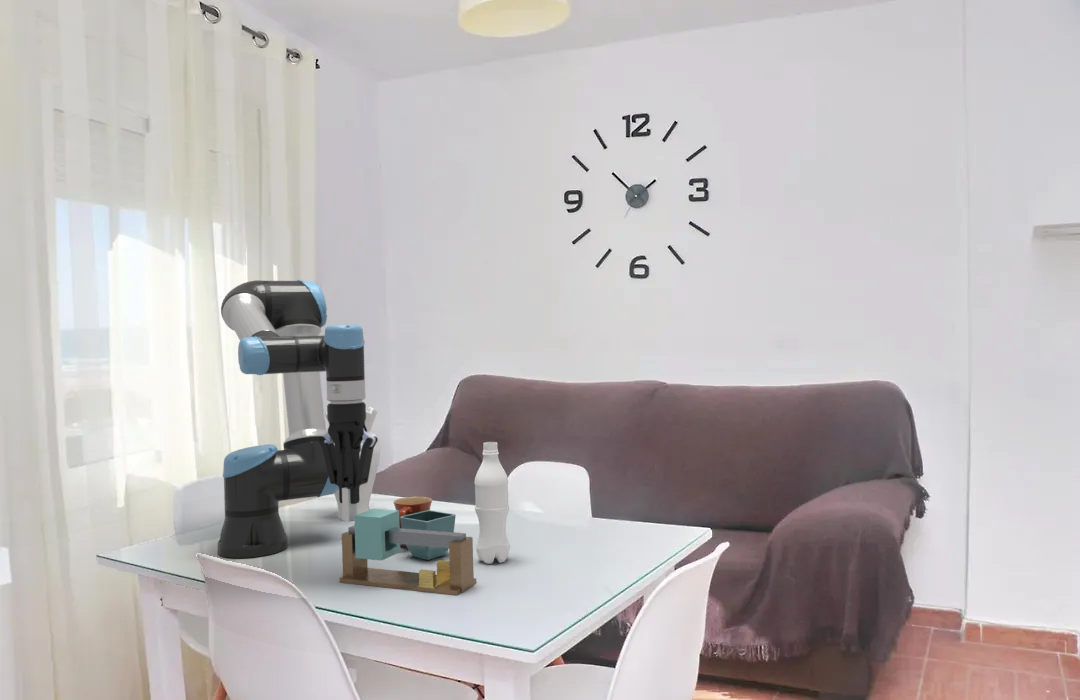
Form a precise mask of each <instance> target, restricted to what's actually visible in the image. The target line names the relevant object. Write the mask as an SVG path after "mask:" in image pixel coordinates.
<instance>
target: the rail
mask: <svg viewBox="0 0 1080 700" xmlns="http://www.w3.org/2000/svg"><path fill="white" fill-rule="evenodd" d="M473 538H474V537H472V536H467V533H466V532H455V531H454V532H442V531H429V530H416V529H403V528H392V529H390V530H387V531H385V543H395V544H406V545H418V546H430V547H442V548H449V549H448V557H449V560H445V559H438V560H437V561H436V570H432V569H422V568H421V569H420V570H418V572H413V571H404V570H395V569H394V570H393V569H392V570H391V569H385V568H374V567H373V568H372V567H368V566H369V565H368V559H360V558H356V552H355V524H354V525H352V526H348V529H347V531H345V532H343V533H341V555H342V556H341V557H342V576H341V577H339V579H338V580H339V581H338V582H339V583H342V584H350V585H359V586H370V587H378V588H379V587H380V588H388V589H396V590H406V591H416V592H423V593H435V594H441V595H442V594H443V595H450V596H458V595H460V594H461V593H464V592H465V591H467V590H468V589H470V588H472V587H473V586H474V585H476V584H477V577H476V578H475V577H474V571H475V570H474V543H473Z"/></svg>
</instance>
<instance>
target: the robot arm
mask: <svg viewBox="0 0 1080 700" xmlns="http://www.w3.org/2000/svg"><path fill="white" fill-rule="evenodd" d="M327 310H328V309H327V301H326V298H325V295H324V292H323V290H322V288H321V287H320V285H319V284H318V283H316V282H314V281H309V280H301V279H297V280H251V281H246V282H243V283H241V284H239V285H237V286H235V287H234V288H232V289H231V290H229V292H228V293H227V294H226V295H225V296H224V298H223V299H222V302H221V306H220V313H221V318H222V320H223V321H224V323H225V325H226V326H227V327H228V328H229V329H230V330H232V331H234V332H235V334H236V336H237V338H238V340H239V343H238V347H237V350H238V351H237V353H238V354H237V357H238V365H239V370H240V372H242V373H243V374H244V375H257V376H263V375H275V374H277V375H278V374H279V375H280V374H282V375H283V376H282V377H283V386H284V387H283V388H284V396H285V397H284V398H285V407H286V408H285V409H286V417H287V426H288V437H287V438H286V439H285V440H284V441H283V449H279V448H277V446H276V444H263V445H262V444H260V445H254V446H249V447H245V448H240V449H237V450H234V451H231V452H229V453H228V454H227V455H225V457H224V459H223V467H222V468H223V472H222V478H223V490H224V491H223V493H224V495H223V496H224V498H223V499H224V501H223V502H224V522H223V524H222V527H221V528H222V529H221V532H220V537H219V540H218V542H217V554H218V555H219V556H220V557H223V558H231V559H242V558H243V559H245V558H247V559H248V558H257V557H263V556H268V555H269V556H270V555H271V554H272V555H273V554H276V553H280V552H282V551H284V550H286V549H287V548H288V545H289V543H288V542H289V541H288V540H289V539H288V535H287V533H286V531H285V528H284V525H283V523H282V519H281V516H280V511H279V502H280V501H289V500H298V499H305V498H306V499H307V498H315V497H317V498H320V497H322V496H329V495H335V494H334V493H335V492H337V491H338V489H339V501H340V503H342V507H343V520H342V521H343V522H351V520H354V516H355V515H357V503H359V500H360V498H359V487H360V485H362V484H365V483H367V482H368V477H369V472H370V466H371V460H372V455H373V449H374V446H375V445H376V443H377V441H378V439H379V438H377V437H378V436H377V435H376V436H377V437H376V436H374V437H372V436H371V435H370V434H368V433H367V428H366V426H365V420H366V410H367V407H366V406H367V405H366V404H367V403H365V402H364V401H363V400H365V399H366V381H365V380H366V378H365V338H364V332H363V331H364V329H363V327H362V326H361V325H359V324H331V325H327V326H326V327H325V329H324V335H320V334H321V332H322V327H324V326H325V325H326V323H327V320H328V319H327V318H328V314H327ZM320 372H325V374H326V375H325V376H326V377H325V378H326V379H325V380H326V400H327V401H328V402H329V403H328V404H327V406H326V407H327V408H326V411H327V418H326V416H325V408H324V401H323V391H322V390H323V389H322V384H321V375H320ZM327 419H328V420H327ZM326 420H327V422H328V421H329V423H328V428H327V427H326ZM362 440H363V441H362ZM361 442H362V444H363V446H362V449H361ZM334 444H335V445H334ZM278 449H279V450H278ZM360 451H361V455H359V453H360Z"/></svg>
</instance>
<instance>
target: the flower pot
mask: <svg viewBox="0 0 1080 700" xmlns="http://www.w3.org/2000/svg"><path fill="white" fill-rule="evenodd" d="M400 519H401V526H402V528H403V529H416V530H429V531H442V532H455V525H456V514H454V513H449V512H443V511H437V510H432V509H430V510H428V511H423V512H419V513H414V514H410V515H406V516H402V517H400ZM406 546H407V548H406V549H407V550H408V551H409V553H410V554H411V556H412V557H414V558H418V559H423V560H427V561H429V560H432V559H435V558H439V557H443V556H446V554H447V552H448V551H449V548H442V547H430V546H418V545H406Z"/></svg>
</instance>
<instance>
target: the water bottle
mask: <svg viewBox="0 0 1080 700" xmlns="http://www.w3.org/2000/svg"><path fill="white" fill-rule="evenodd" d="M482 448H483V450H482V456H483V457H482V462H481V463H480V466H479V468H478V469H477V472H476V475H475V477H474V483H473V484H474V497H475V506H474V511H475V513H476V516H477V519H478V525H479V534H478V538H477V539H478V540H477V543H476V547H475V549H476V550H475V551H476V555H477V558H478V559H479V561H481V562H484V564H489V565H490V564H491V565H492V564H493V563H494V560H495V559H496V560H497V562H498V563H500V564H502V563H504V562H505V561H507V559H508V556H509V554H510V549H511V544H510V543H509V539H508V537H507V531H506V530H507V529H506V526H507V525H506V524H507V518H508V514H509V512H510V505H509V478H508V475H507V473H506V471H505V469H504V468H503V465H502V463H501V461H500V459H499V454H500V452H499V449H498V442H497V441H486V442H483V447H482Z"/></svg>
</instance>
